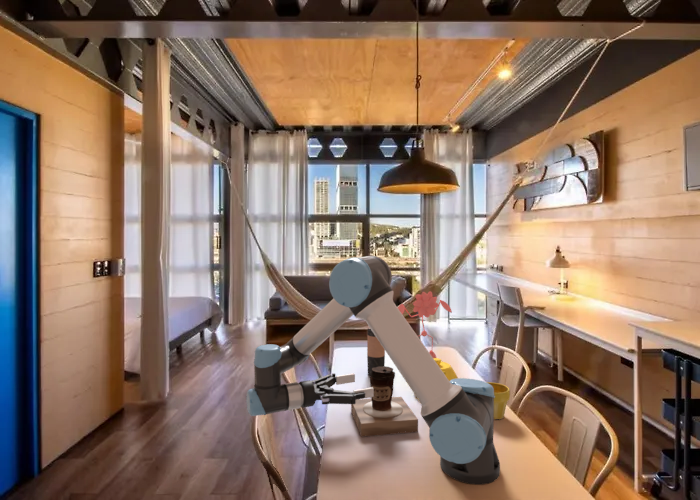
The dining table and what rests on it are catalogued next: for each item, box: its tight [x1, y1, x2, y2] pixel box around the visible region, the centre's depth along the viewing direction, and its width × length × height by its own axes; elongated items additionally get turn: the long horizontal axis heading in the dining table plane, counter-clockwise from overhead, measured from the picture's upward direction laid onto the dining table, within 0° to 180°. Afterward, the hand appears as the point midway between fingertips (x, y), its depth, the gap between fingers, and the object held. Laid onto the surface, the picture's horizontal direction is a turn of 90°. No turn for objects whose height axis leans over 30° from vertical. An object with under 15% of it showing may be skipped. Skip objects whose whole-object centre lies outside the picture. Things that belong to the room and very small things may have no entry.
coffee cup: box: [369, 365, 396, 411], centre depth 136 cm, size 9×8×13 cm
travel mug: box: [366, 327, 386, 377], centre depth 180 cm, size 8×8×20 cm
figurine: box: [397, 291, 452, 358], centre depth 191 cm, size 15×26×35 cm, turn 100°
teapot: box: [433, 357, 459, 381], centre depth 158 cm, size 25×18×14 cm
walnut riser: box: [350, 396, 419, 438], centre depth 136 cm, size 18×18×4 cm
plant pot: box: [485, 381, 511, 420], centre depth 140 cm, size 10×10×10 cm
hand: (363, 384), depth 133 cm, fingers open, 13 cm apart
